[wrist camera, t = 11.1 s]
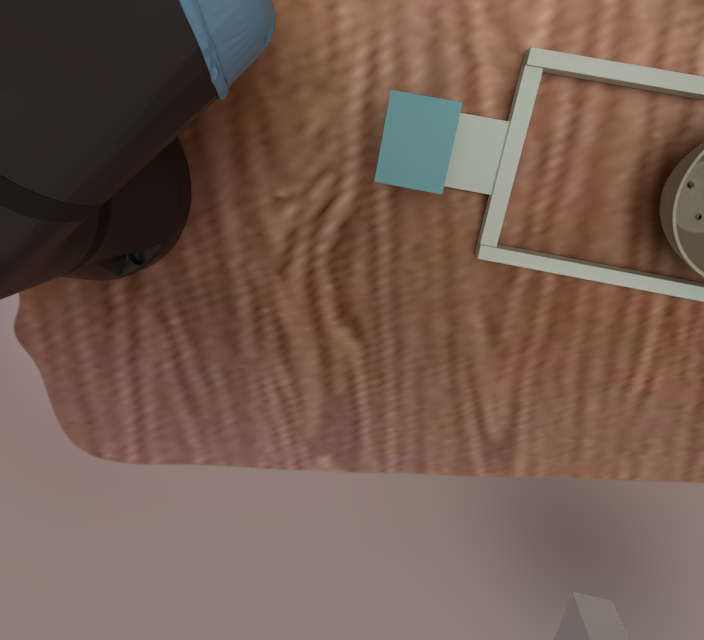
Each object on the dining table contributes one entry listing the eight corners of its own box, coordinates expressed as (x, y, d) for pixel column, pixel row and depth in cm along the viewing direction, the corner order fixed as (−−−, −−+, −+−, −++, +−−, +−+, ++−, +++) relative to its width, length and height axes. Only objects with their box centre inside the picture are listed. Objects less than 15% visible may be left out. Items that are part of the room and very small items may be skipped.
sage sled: (371, 233, 41) (360, 256, 33) (408, 32, 37) (407, -2, 28) (740, 304, 40) (830, 347, 31) (826, 104, 35) (958, 91, 27)
